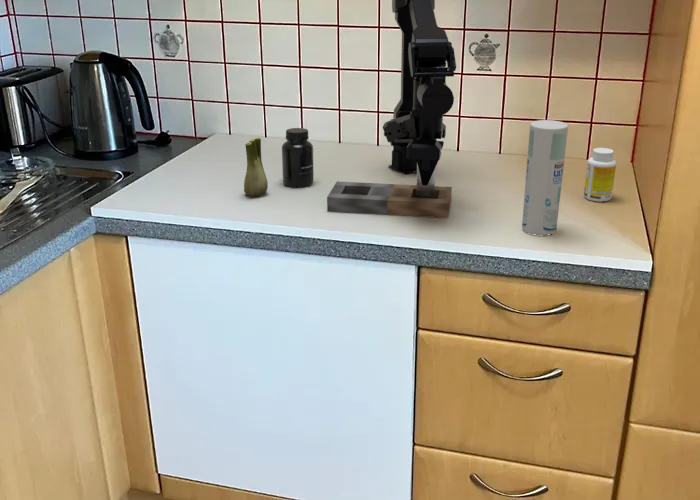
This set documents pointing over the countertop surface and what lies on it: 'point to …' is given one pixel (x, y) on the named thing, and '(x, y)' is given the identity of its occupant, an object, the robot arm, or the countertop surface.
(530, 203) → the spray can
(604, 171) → the supplement bottle
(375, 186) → the pin dock plate
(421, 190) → the lock pin
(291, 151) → the supplement bottle
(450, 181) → the countertop surface
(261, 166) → the fennel bulb
